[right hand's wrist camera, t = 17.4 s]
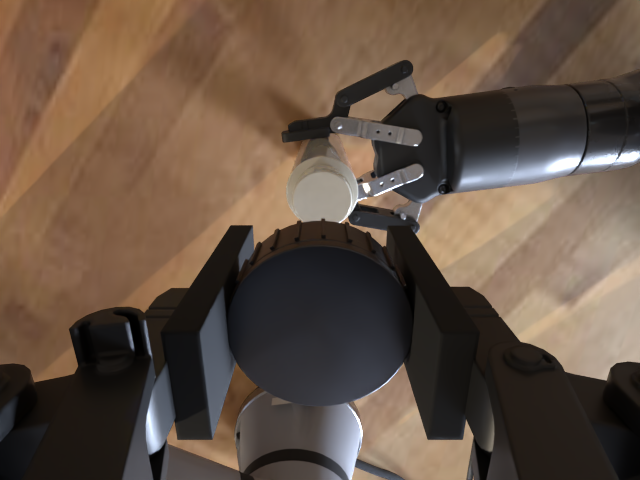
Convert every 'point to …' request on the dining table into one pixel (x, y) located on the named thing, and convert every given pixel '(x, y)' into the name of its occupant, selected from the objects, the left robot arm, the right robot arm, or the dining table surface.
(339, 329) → the lid
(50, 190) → the dining table surface
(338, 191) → the white plastic cylinder
